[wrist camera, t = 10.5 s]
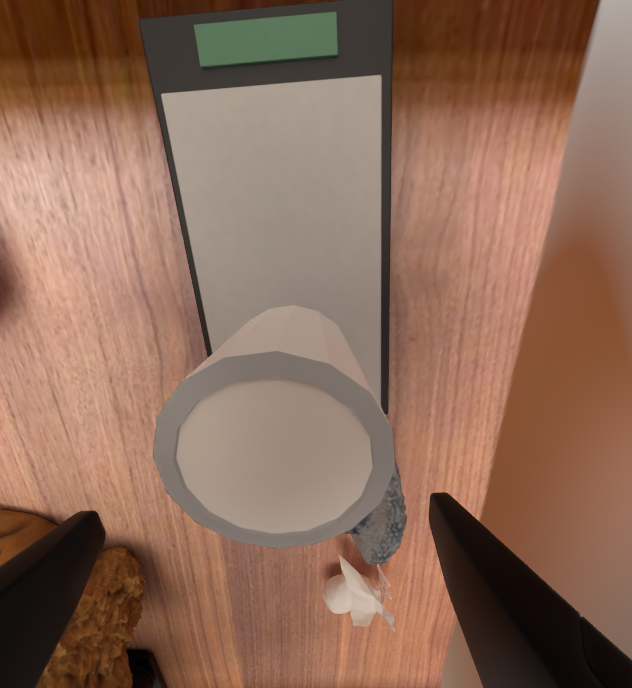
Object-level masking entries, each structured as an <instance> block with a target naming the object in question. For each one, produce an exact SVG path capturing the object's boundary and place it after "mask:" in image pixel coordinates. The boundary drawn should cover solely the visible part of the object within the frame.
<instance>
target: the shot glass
mask: <svg viewBox="0 0 632 688" xmlns="http://www.w3.org/2000/svg"><path fill="white" fill-rule="evenodd" d="M153 458H154V461H155V463H156V466H157V468H158V471H159V474H160V476H161V479H162V481H163V484H164V486H165V489H166V492H167V493H168V494H169V495H170V496H171V497H172V498H173V499H174V501H175V502H176V503H177V504H178V505H179V506H180V507H181V508H182V509H183V510H184V511H185V512H186V513H187V514H188V515H189V516H190V517H191V518H192V519H193V520H194V521H195V522H197V523H199V524H201V525H202V526H204V527H206V528H208V529H210V530H212V531H214V532H216V533H218V534H220V535H222V536H224V537H226V538H228V539H230V540H232V541H237V542H242V543H247V544H252V545H258V546H263V547H268V548H283V547H294V546H305V545H315V544H317V543H320V542H322V541H324V540H327V539H329V538H332V537H334V536H337V535H339V534H341V533H344V532H346V531H349V530H351V529H353V528H354V527H355V526H356V525H357V524H358V523H359V522H360V521H361V520H362V519H364V518H365V517H366V516H367V515H368V514H369V513H370V512H371V511H372V510H373V509H375V508H376V507H377V506H378V505H379V504H380V503H381V500H382V498H383V496H384V494H385V491H386V489H387V487H388V485H389V482H390V480H391V478H392V475H393V473H394V471H395V456H394V440H393V429H392V427H391V425H390V423H389V422H388V420H387V418H386V416H385V414H384V412H383V410H382V408H381V406H380V404H379V402H378V400H377V398H376V396H375V394H374V393H373V391H372V389H371V387H370V385H369V383H368V381H367V379H366V377H365V375H364V373H363V371H362V369H361V367H360V365H359V364H358V362H357V360H356V358H355V356H354V354H353V352H352V350H351V348H350V346H349V344H348V343H347V341H346V339H345V337H344V336H343V334H342V332H341V331H340V329H339V327H338V326H337V325H336V324H335V323H334V322H332V321H331V320H329V319H328V318H327V317H325V316H324V315H323V314H321V313H320V312H319V311H315V310H312V309H308V308H304V307H300V306H296V305H292V306H284V307H276V308H270V309H268V310H267V311H265V312H263V313H261V314H260V315H258V316H256V317H255V318H253V319H251V320H250V321H249V322H247V323H246V324H245V325H244V326H243V327H242V328H241V329H240V330H238V331H237V332H236V333H235V334H234V335H233V336H232V337H231V338H230V339H228V340H227V341H226V342H225V343H224V344H223V345H222V346H221V347H219V348H218V349H217V350H216V351H215V352H214V353H213V354H212V355H211V356H209V357H208V358H207V359H206V360H205V361H204V362H203V363H202V364H200V365H199V366H198V367H197V368H196V369H195V370H194V371H193V372H192V373H190V374H189V375H188V376H187V377H186V378H185V379H184V380H183V381H182V382H181V383H180V384H179V386H178V387H177V389H176V390H175V392H174V393H173V394H172V396H171V397H170V399H169V400H168V402H167V403H166V405H165V406H164V408H163V409H162V410H161V412H160V413H159V415H158V416H157V421H156V430H155V440H154V450H153Z"/></svg>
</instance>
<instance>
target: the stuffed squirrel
mask: <svg viewBox="0 0 632 688" xmlns="http://www.w3.org/2000/svg"><path fill="white" fill-rule="evenodd" d="M56 527H57V526H56V525H54V524H53V523H51V522H49V521H47V520H46V519H44V518H42V517H40V516H37V515H33V514H28V513H22V512H15V511H10V510H2V509H0V566H1V565H2V564H4V563H5V562H7V561H8V560H9V559H11V558H12V557H14V556H15V555H17V554H18V553H20V552H21V551H22V550H24V549H25V548H27V547H28V546H30V545H31V544H33V543H34V542H35V541H37V540H38V539H40V538H41V537H43V536H44V535H46V534H47V533H48V532H50V531H51V530H53V529H54V528H56ZM140 568H141V567H140V565H139V563H137V561H136V559H135V558H133V557H132V556H131V555H130V553H129V551H128V549H126V548H122V547H114V548H110V549H108V550H106V551H103V552H100V554H99V556H98V558H97V561H96V563H95V566H94V568H93V570H92V573H91V575H90V578H89V580H88V582H87V585H86V587H85V589H84V592H83V594H82V597H81V599H80V601H79V603H78V605H77V608H76V610H75V612H74V614H73V616H72V618H71V620H70V622H69V623H68V625H67V627H66V629H65V631H64V633H63V635H62V637H61V639H60V641H59V643H58V645H57V647H56V649H55V651H54V653H53V654H52V656H51V658H50V660H49V662H48V664H47V666H46V668H45V670H44V672H43V674H42V676H41V678H40V680H39V682H38V684H37V685H36V687H35V688H131V686H132V681H133V680H132V673H131V670H130V667H129V663H128V655H127V652H126V649H127V644H128V643H129V641H132V639H133V633H132V632H133V627H135V626H137V623H138V621H139V619H140V618H141V613H142V610H143V607H142V604H141V602H142V600H143V599H142V597H143V590H142V589H143V586H144V585H145V583H144V580H143V579H142V578H143V577H142V573H141V572H140Z"/></svg>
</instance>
